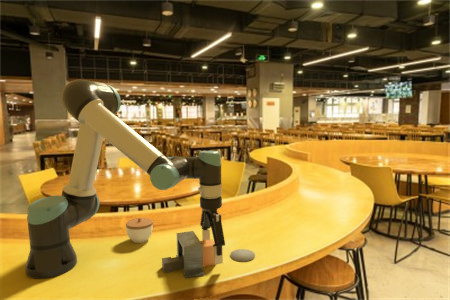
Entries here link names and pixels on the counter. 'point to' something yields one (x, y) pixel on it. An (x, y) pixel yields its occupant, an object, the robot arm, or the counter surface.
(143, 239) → the lidded jar
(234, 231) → the counter surface
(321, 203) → the counter surface
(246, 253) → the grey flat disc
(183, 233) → the housing
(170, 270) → the plug
